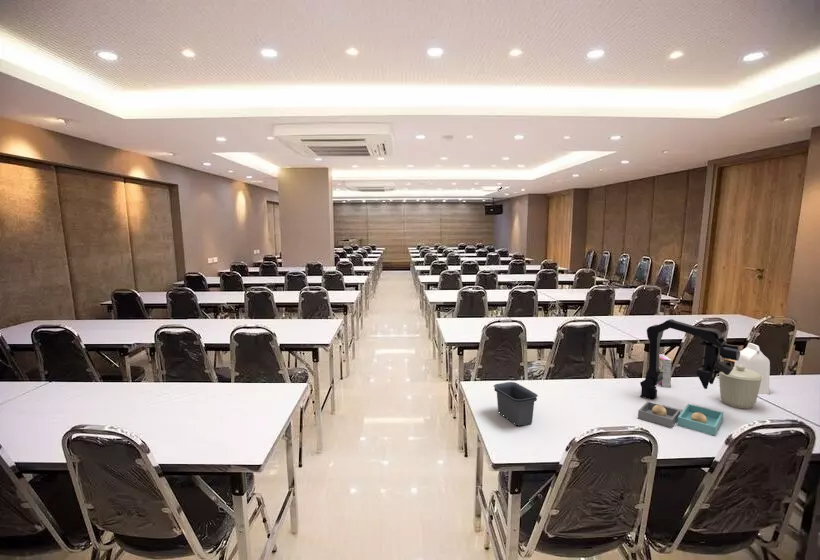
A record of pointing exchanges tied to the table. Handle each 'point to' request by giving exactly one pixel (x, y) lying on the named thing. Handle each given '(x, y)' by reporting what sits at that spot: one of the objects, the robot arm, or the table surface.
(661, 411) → the maple ball
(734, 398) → the canister
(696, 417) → the maple ball resting
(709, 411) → the holder
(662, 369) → the candy bar box
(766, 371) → the milk
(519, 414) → the storage bin
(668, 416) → the tray
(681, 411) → the pattern card
